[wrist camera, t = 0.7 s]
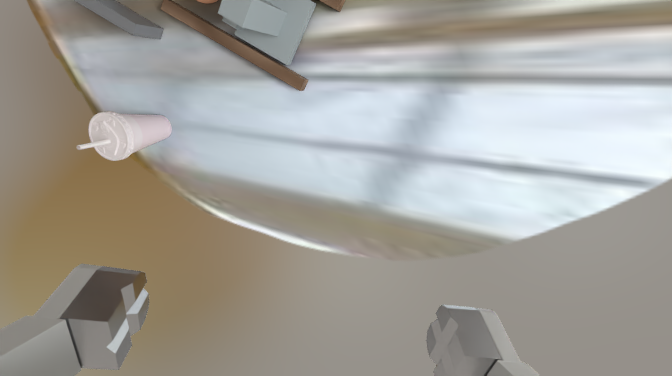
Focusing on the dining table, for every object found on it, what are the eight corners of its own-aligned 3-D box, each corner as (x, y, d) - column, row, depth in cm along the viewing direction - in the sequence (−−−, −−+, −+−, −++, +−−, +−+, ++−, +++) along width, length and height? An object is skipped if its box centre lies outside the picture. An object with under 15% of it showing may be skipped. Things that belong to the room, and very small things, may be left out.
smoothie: (152, 151, 56) (68, 173, 43) (137, 110, 54) (46, 121, 41) (184, 143, 54) (107, 164, 41) (170, 101, 52) (85, 109, 40)
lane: (194, -85, 44) (186, -90, 42) (345, -1, 42) (342, -3, 41) (168, 11, 48) (160, 9, 47) (303, 90, 47) (299, 90, 46)
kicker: (254, -31, 44) (206, -61, 34) (316, 4, 43) (284, -17, 34) (232, 32, 47) (182, 20, 37) (289, 65, 46) (253, 62, 37)
